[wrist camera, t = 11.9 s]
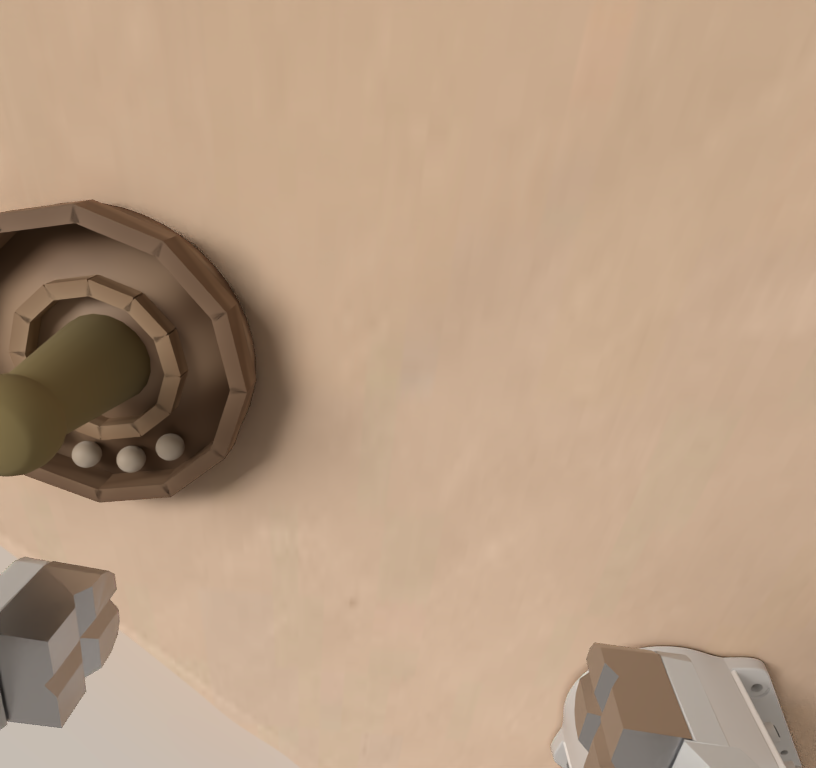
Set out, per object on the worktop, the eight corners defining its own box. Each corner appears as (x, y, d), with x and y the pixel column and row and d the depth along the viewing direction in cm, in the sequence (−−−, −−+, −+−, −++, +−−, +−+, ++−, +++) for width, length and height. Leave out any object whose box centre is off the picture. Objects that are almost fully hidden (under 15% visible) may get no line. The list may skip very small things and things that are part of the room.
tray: (315, 381, 40) (305, 401, 37) (124, 519, 45) (103, 544, 42) (97, 131, 34) (66, 132, 31) (-90, 322, 40) (-130, 337, 37)
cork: (145, 412, 40) (44, 509, 30) (55, 386, 40) (-78, 476, 30) (156, 329, 38) (49, 405, 28) (60, 301, 37) (-84, 367, 27)
